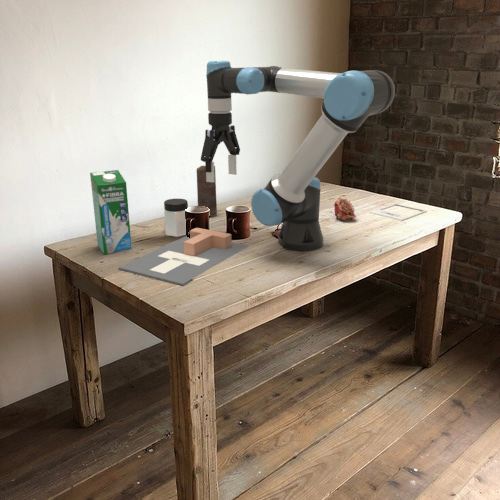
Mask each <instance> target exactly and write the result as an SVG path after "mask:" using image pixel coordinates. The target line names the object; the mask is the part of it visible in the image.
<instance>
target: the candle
mask: <svg viewBox="0 0 500 500" xmlns="http://www.w3.org/2000/svg"><path fill="white" fill-rule="evenodd" d="M214 174H215V182H214V183H213V182H207V181H206V165H200V166H199V167H197V168H196V187H197V188H196V189H197V193H196V194H197V207H198V206H205V207H208V208H209V209H210V218H211V217H212V218H213V217H214V218H215V217H218V208H217V206H218V205H217V183H216V182H217V180H216V166H215V165H214Z"/></svg>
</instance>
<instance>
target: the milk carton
mask: <svg viewBox="0 0 500 500" xmlns="http://www.w3.org/2000/svg"><path fill="white" fill-rule="evenodd" d="M89 174H90V175H89V176H90V183H91V184H90V186H91V195H92V203H93V213H94V221H95V222H94V223H95V224H94V225H95V231H96V232H95V233H96V240H97V241H96V242H97V247H98V248H99V250H100V251H101V252H102V253H103V255H110V254H114V253H115V254H116V253H117V252H121V251H126V250H131V249H132V237H131V226H130V214H129V213H130V212H129V203H128V202H129V199H128V189H127V188H128V187H127V181H126V180H125V178H124V177H123V175H122V174H121V172H120V170H118V169H115V170H114V169H113V170H105V171H94V172H90V173H89Z"/></svg>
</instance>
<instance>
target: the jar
mask: <svg viewBox="0 0 500 500" xmlns="http://www.w3.org/2000/svg"><path fill="white" fill-rule="evenodd" d="M163 207H164V212H163V213H164V226H165V229H164V230H165V235H166V236H168V237H169V236H171V237H182V236H183V237H184V236H187V235H186V219H185V209H187V208H189V203H188V200H187V199H184V198H169V199H166V200H164V202H163Z"/></svg>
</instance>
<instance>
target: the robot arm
mask: <svg viewBox="0 0 500 500" xmlns="http://www.w3.org/2000/svg"><path fill="white" fill-rule="evenodd" d="M205 76H206V87H207V91H206V92H207V110H208V112H209V113H208V114H207V117H208V125H209V126H211V129H205V132H204V133H205V135H204V141H203V142H204V143H203V146H202V151H201V155H200V161H202V162H203V163H205V165H204V166H206V181H207V182H213V183H214V182H215V176H216V173H215V174H214V166H215V162H214V161H213V160H214V159H215V155H216V152H217V149H218V147H219V145H220V144H221V143H223V144H224V145H225V147H226V149H227V152H228V153H229V154H228V155H227V158H228V164H227V165H228V167H227V168H228V175H235V176H236V175H237V156H239V155H240V152H241V148H240V144H239V140H238V137H237V135H236V127H235V125H234V124H233V125H232V123H233V118H232V117H233V114H232V113H233V112H231V111H232V110H233V109H232V104H233V103H232V94H240V95H241V94H242V95H244V94H245V95H257V94H259V93H264V92H265V93H266V92H268V93H279V94H286V95H287V94H288V95H289V94H290V95H294V96H302V97H308V98H309V97H310V98H318V99H323V103H322V104H321V107H320V110H321V113H322V114H321V116H320V117H319V118H318V120H317V121H316V122H315V124H314V126H313V127H312V128H311V130H310V132H309V133H308V134H307V136H306V137H305V138H304V140H303V141H302V143H301V145H299V147H298V148H297V150H296V151H295V153H294V154H293V155H292V157H291V159H290V160H289V162H288V163H287V164H286V166H285V167H284V169H283V170H282V172H281V173H276V174H274V175H273V176H272V177H271V178H270V180H269V181H268V183H267V184H266V186H265V187H264V188H259V189H258V190H256V191H255V192H254V193H253V195H252V197H251V202H250V203H251V204H250V205H251V210H252V214H253V216H254V217H255V218H256V220H257V221H258V222H259V223H260V224H261V225H263V226H266V227H273V226H279V225H280V224H281V228H280V231H279V233H278V236H277V238H278V239H277V242H278V244H279V245H280V246H281V247H282V248H284V249H285V250H292V251H304V252H305V251H314V250H318V249H320V248H322V247H323V246H324V235H323V231H322V228H321V225H320V221H319V220H320V206H321V205H320V203H321V200H320V199H321V191H322V189H321V180H320V179H319V178H318V177H316V176H317V175H318V173H319V172H320V171H321V169H322V168H323V166H324V165H325V163H327V161H328V160H329V159H330V158H331V156H333V153H334V152H335V151H336V150H337V148H338V147H339V145H340V144H341V143H342V141H343V140H344V139H345V137H346V136H347V135H348V134H350V133H351V134H352V133H355V132H357V131H358V130H359V129H360V128H361V126H362V125H363V124H364V122H365V120H366V119H368V117H369V116H373V115H377V114H378V115H379V114H381V113H382V112H385V111H386V110H387V109H388V108H389V107H390V106H391V104H392V103H393V101H394V98H395V93H396V92H395V91H396V89H395V88H396V87H395V84H394V81H393V79H392V78H391V77H390V76H389V75H388V74H387V73H386V72H384V71H382V70H378V69H371V70H370V69H369V70H348V71H345V72H341V73H340V72H331V71H318V70H311V69H310V70H308V69H300V68H299V69H297V68H287V67H282V66H278V65H270V66H258V67H256V66H254V67H232V65H231V62H230V61H229V60H211V61H210V60H209V61H208V62H207V63H206V75H205Z"/></svg>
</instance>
